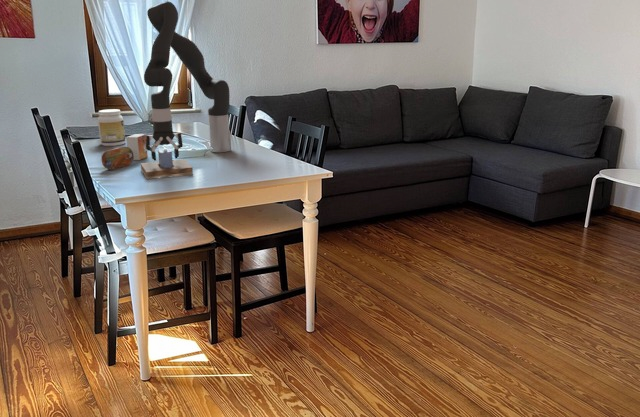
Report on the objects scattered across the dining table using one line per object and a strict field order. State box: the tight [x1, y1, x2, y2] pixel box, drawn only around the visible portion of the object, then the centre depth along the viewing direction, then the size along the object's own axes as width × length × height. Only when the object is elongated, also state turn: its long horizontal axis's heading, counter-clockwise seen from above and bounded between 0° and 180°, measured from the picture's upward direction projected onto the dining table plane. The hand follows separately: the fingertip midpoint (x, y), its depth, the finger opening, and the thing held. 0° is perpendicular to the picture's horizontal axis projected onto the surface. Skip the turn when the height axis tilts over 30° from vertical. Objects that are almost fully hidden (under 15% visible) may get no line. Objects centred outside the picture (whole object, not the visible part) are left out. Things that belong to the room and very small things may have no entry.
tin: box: [101, 146, 134, 171], centre depth 249 cm, size 15×3×8 cm, turn 148°
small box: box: [125, 133, 148, 161], centre depth 264 cm, size 8×6×10 cm
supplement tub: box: [97, 108, 127, 147], centre depth 294 cm, size 12×12×17 cm
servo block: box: [157, 148, 173, 168], centre depth 239 cm, size 4×9×9 cm, turn 24°
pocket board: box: [140, 158, 194, 180], centre depth 240 cm, size 18×16×3 cm
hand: (165, 159), depth 239 cm, fingers open, 8 cm apart
